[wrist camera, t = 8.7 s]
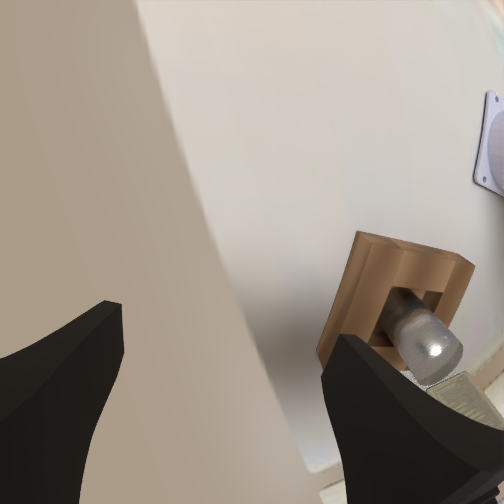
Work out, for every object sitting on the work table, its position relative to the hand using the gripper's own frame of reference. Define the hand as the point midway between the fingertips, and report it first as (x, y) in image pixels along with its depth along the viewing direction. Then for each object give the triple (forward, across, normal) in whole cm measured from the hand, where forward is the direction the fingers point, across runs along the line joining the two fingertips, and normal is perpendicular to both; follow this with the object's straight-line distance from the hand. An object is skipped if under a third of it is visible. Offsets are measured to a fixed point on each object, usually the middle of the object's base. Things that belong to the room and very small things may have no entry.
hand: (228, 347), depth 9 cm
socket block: (+10, -13, +3) cm, 17 cm away
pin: (+10, -13, +3) cm, 17 cm away
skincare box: (+11, -27, +14) cm, 32 cm away
